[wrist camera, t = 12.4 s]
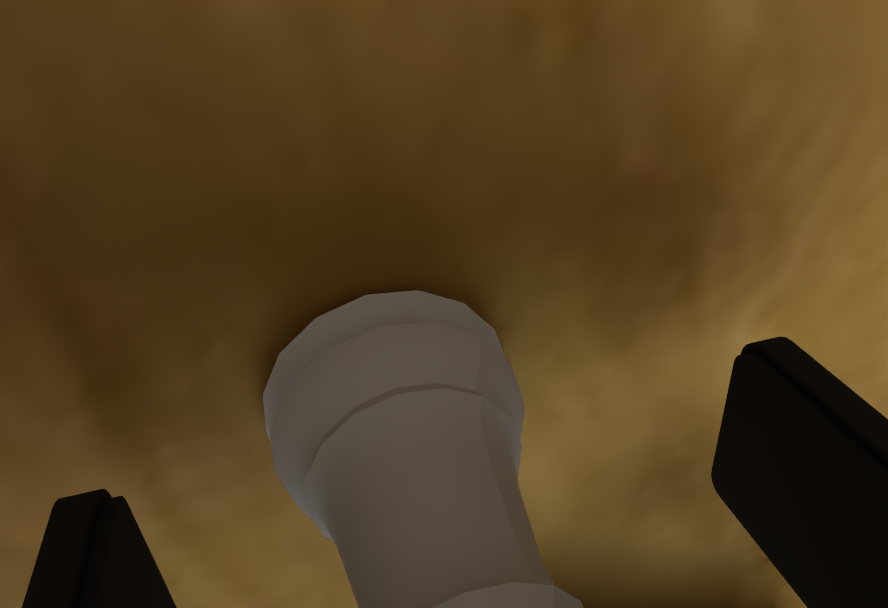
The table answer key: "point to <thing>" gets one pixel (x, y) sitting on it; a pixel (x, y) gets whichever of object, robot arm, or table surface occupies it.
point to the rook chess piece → (410, 453)
